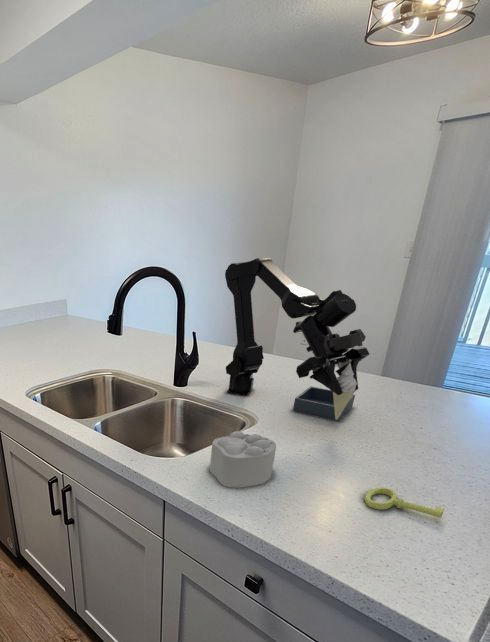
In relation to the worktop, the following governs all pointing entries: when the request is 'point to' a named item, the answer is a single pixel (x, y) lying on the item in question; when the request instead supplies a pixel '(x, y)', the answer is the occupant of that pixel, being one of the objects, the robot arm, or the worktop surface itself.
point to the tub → (319, 403)
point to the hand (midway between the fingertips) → (348, 392)
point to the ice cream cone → (344, 390)
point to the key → (398, 502)
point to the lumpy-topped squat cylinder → (242, 459)
